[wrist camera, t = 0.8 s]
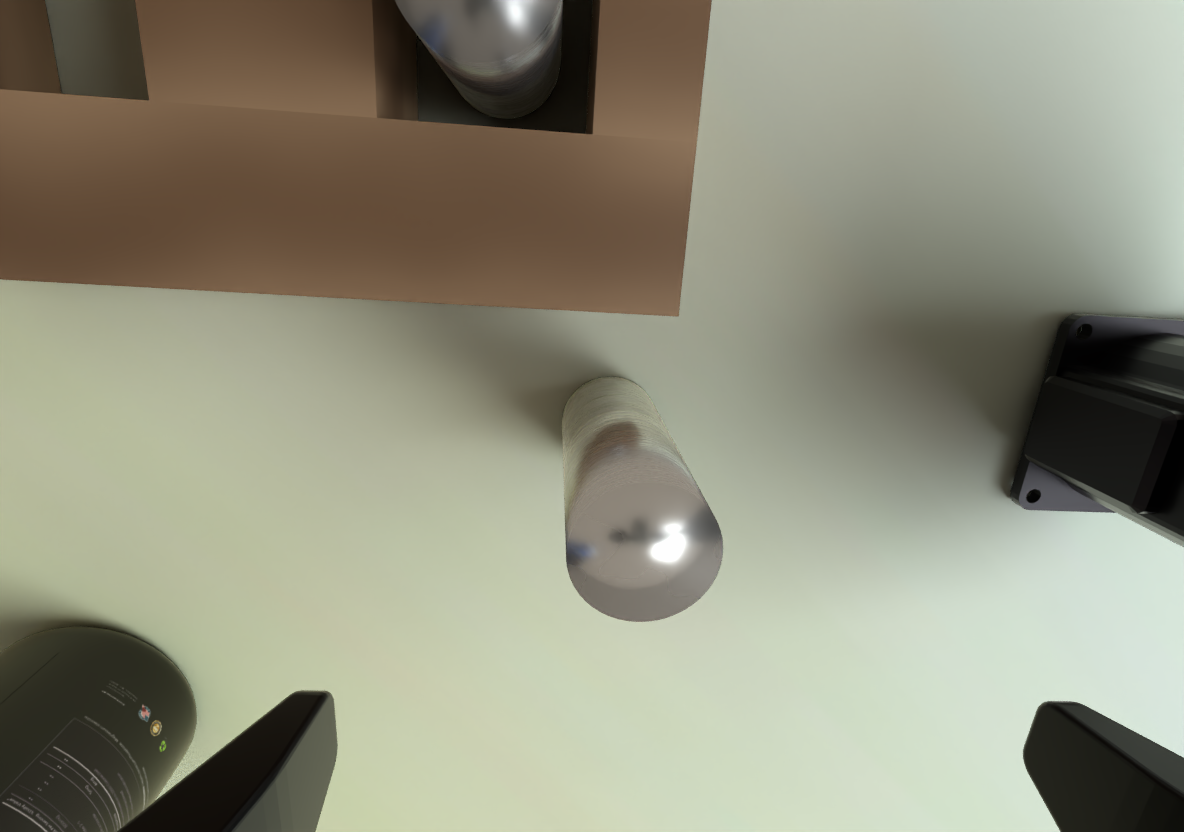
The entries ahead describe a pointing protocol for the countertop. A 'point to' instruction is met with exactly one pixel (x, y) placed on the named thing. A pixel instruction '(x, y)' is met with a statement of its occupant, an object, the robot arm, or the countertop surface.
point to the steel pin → (632, 507)
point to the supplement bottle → (87, 729)
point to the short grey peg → (493, 49)
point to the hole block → (348, 163)
